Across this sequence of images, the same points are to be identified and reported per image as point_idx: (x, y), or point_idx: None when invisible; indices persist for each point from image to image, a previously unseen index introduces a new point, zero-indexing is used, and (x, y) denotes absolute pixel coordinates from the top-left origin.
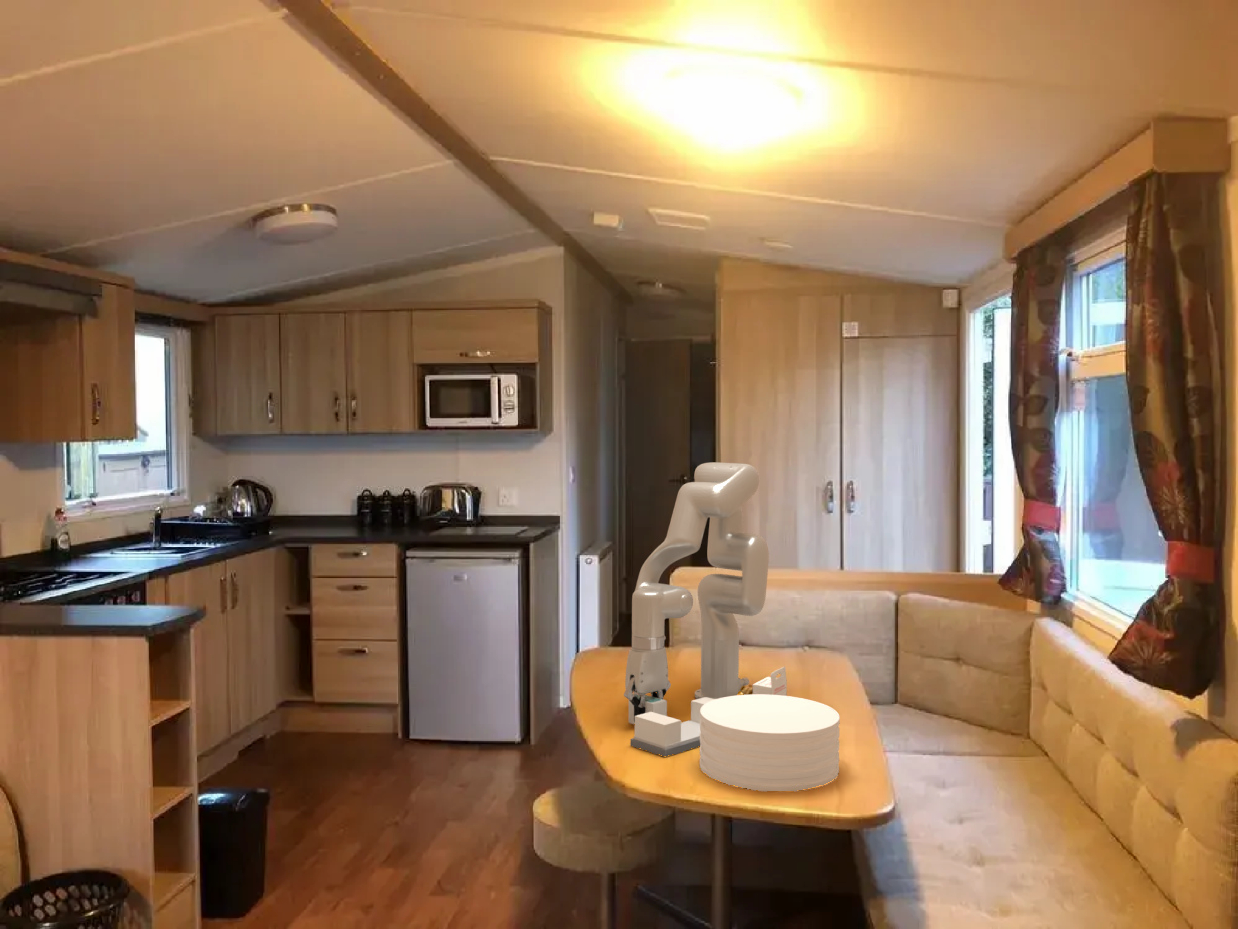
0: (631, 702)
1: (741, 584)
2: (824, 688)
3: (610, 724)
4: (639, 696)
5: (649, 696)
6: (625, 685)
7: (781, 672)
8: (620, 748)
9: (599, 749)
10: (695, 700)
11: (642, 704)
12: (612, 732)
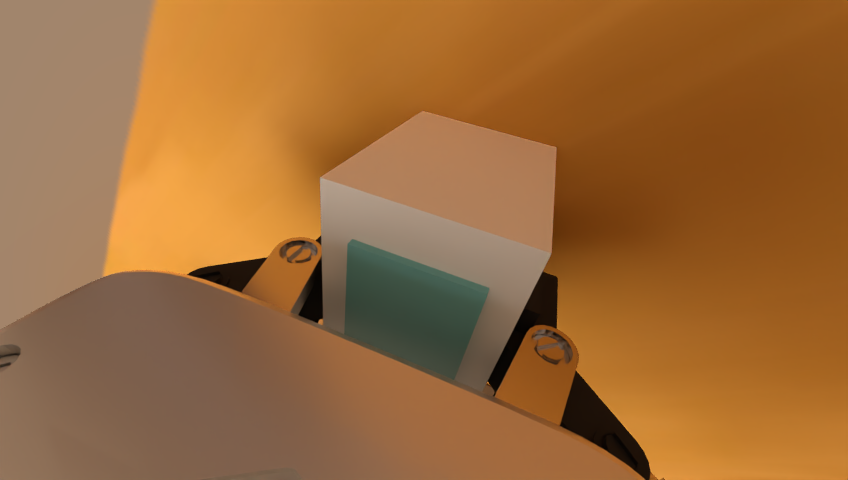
0: (247, 264)
1: None
2: None
3: (317, 17)
4: (394, 279)
5: (454, 356)
6: (29, 317)
7: None
8: (178, 253)
9: (116, 200)
10: None
11: (315, 321)
12: (240, 132)
